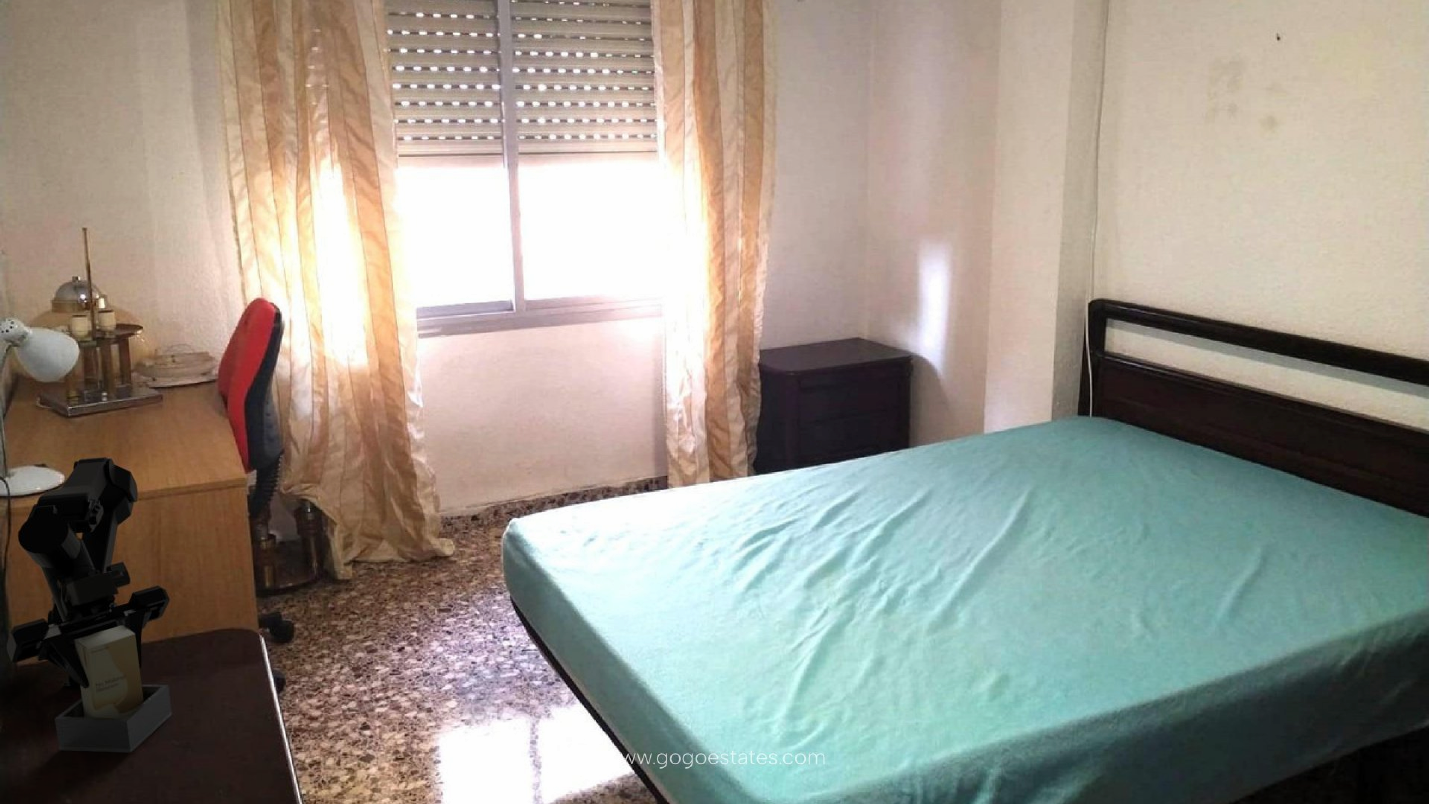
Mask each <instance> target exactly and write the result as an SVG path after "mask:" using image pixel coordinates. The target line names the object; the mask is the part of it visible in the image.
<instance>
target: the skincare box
mask: <svg viewBox="0 0 1429 804" xmlns="http://www.w3.org/2000/svg"><path fill="white" fill-rule="evenodd" d="M74 642H75V649H76V656H77V658H78V660H79V662H80V664H81V666H82V668H83V670H84V672H85V674H86V676H87V679H88V682H89V687H88V688H86V689H85V688H83V687H82V686H81V685H80V686H81V689H80V691H81V692H80V694H81V698H82V701H83V708H84V716H85V717H92V718H122V719H125V718H126V717H127V716H128V715H130V714H131V713H132V712H133V711H134V710H135V709H137V708H138V707H139V706H140V705H141V704H142V703H144V701H143V693H142V685H141V684H142V678H141V670H140V669H139V661H138V653H137V646H136V638H135V633H133V632H132V631H131V630H129V629H128V628H127V627H125V626H124V625H121V626H118V627H115V628H112V629H108V630H104V631H100V632H97V633H94V634H92V635H89V636H86V637H82V638H79V639H75V640H74Z"/></svg>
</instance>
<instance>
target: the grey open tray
mask: <svg viewBox="0 0 1429 804" xmlns="http://www.w3.org/2000/svg"><path fill="white" fill-rule="evenodd" d="M141 685H142V693H143V701H144V703H142V704H141V705H140V706H139V707H138V708H137V709H135V710H134V711H133V712H132V713H131V714H130V715H128V716H127V717H126V718H125V719H122V718H92V717H85V716H84V708H83V701H82V697H80V698H79V699H78V700H77V701H76V702H74V703H73V704H71V705H70V707H68V708H67V709H65V710H64V711H63V712H62V713H60V714H59V715H58V716H56V717H55V718H54V722H55V728H56V730H55V731H56V736H57V741H58V742H57V743H58V749H59V751H70V752H71V751H72V752H74V751H75V752H76V751H77V752H100V753H103V752H104V753H105V752H106V753H107V752H108V753H132V752H133V751H134V750H136V749H137V748H139V746H140V745H141V744H143V742H144V741H145V740H146V739H147V738H148V737H150V736H151V734H153V733H154V732H155V731H156V730H157V729H159V727H160V726H161V725H162V724H163V723H165V722H166V721H167V720H168V719H170V717H171V716H173V712H172V705H171V697H170V688H169V684H149V683H147V684H143V683H141Z"/></svg>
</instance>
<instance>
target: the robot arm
mask: <svg viewBox="0 0 1429 804" xmlns="http://www.w3.org/2000/svg"><path fill="white" fill-rule="evenodd" d="M72 468H73V470H72V471H71V473H70V474H69V476H68V477H67V479H66V480H65V481H64V483H63V485H62V486H61V487H60V488H57V489H54V490H50V491H45V493H43V494H42V495H40V496H39V498H38V499H37V502H36V503H34V504H33V506H32V508H31V510H30V513H29V515H28V517H27V518H26V521H25V522H24V523H23V524H22V525H21V527H20V529H19V530H18V533H17V540H18V543H19V545H20V547H22V549H23V550H24V552H25V553H26V554H27V555H28V556H29V557H30V559H32V560H33V562H34V563H35V564H36V565H38V566H39V567H40V568H41V570H42V573H43V575H44V577H45V578H44V579H45V581H46V583H47V585H48V588H49V590H50V591H49V592H50V593H51V595H52V597H51V600H52V604H53V606H52V609H50V610H49V611H48V614H47V620H46V619H45V618H43V617H42V618H39V619H35V620H32V621H28V622H25V623H21V624H17V625H15V626H13V627H12V629H11V631H10V632H9V635H8V639H7V643H6V650H7V654H8V657H9V659H10V661H11V663H19V662H23V661H26V660H29V659H32V658H36V660H37V662H41V661H42V662H43V661H47V662H49V663H50V664H52V665H53V666H55V667H56V668H58V669H60V670H62V671H63V672H64V673H65V674H67V676H68V679H67V680H66V681H64V682H63V683H61V688H62V689H75V690H77V689H78V690H81V686H82V687H83V688H85V689H86V688H88V687H89V682H88V679H87V676H86V674H85V672H84V670H83V668H82V666H81V664H80V662H79V660H78V658H77V656H76V649H75V642H74V640H75V639H79V638H82V637H86V636H89V635H92V634H94V633H97V632H100V631H104V630H108V629H112V628H115V627H118V626H121V625H124V626H125V627H127V628H128V629H129V630H131V631H132V632H133V633H135V638H136V646H137V653H138V661H139V669H140V671H141V670H142V667H143V664H142V661H143V660H142V657H143V655H142V632H143V629H145V628H146V626H147V624H148V623H149V622H152V621H156V620H159V619H160V618H162V617H163V615H164V614H165V611H166V609H167V607H168V605H169V603H170V600H171V599H170V596H169V595H168V592H167V590H166V589H165V588H163V587H161V586H159V585H154V586H151V587H148V588H144V589H140V590H137V591H134V592H132V593H131V596H130V598H129V601H128V602H127V603H122V604H120V605H118V603H117V602H115V601H116V597H115V595H116V596H117V595H119V588H123V587H126V586H128V585H130V584H131V577H130V574H129V571H128V569H127V566H126V565H125V563H124V561H120V562H116V563H114V564H113V563H112V562H113V555H114V551H115V545H116V538H117V532H118V527H119V526H120V524H122V523H124V522H125V521H126V520H127V519H129V517H131V516H132V512H133V508H134V504H135V503H137V502H138V497H139V495H138V494H139V493H138V491H139V490H138V484H137V482H136V480H135V478H134V475H133V474H132V472H131V471H130V470H128V469H126V468H123V467H121V466H119V465H116V464H115V462H114V460H113V459H112V458H108V457H107V456H105V457H92V458H91V457H90V458H81V459H79V460H75V461H74V463H73V467H72ZM78 534H81V538H80V537H79V536H78ZM80 685H81V686H80Z"/></svg>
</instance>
